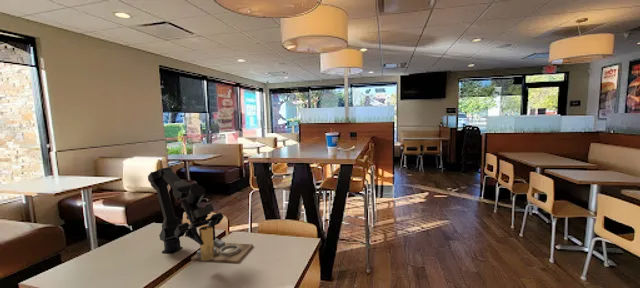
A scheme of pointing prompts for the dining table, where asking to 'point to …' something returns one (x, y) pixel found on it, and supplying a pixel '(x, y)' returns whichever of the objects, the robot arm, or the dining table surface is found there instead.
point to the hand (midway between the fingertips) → (208, 242)
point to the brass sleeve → (206, 242)
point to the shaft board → (226, 252)
